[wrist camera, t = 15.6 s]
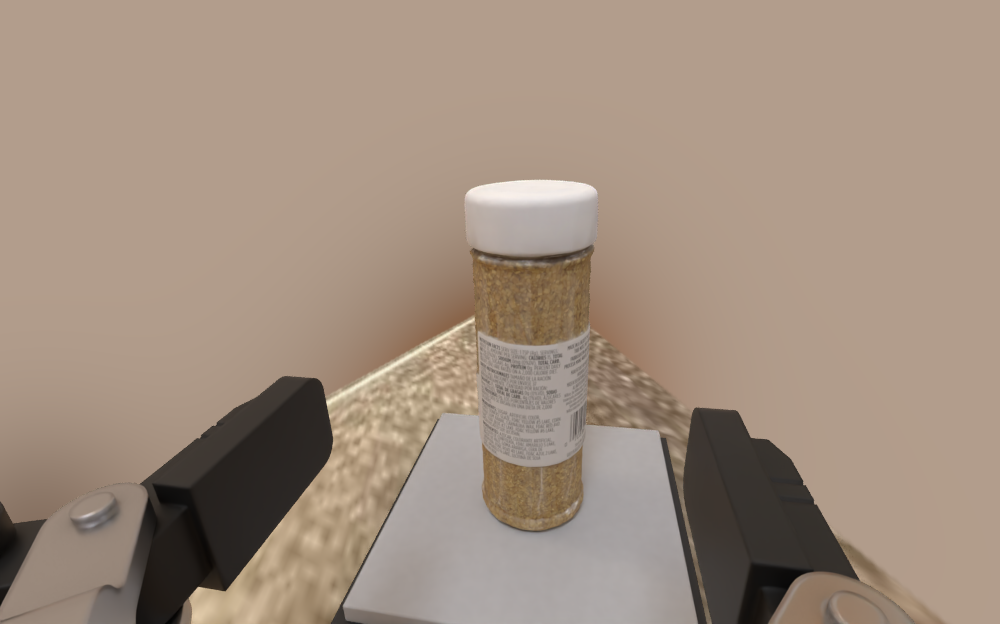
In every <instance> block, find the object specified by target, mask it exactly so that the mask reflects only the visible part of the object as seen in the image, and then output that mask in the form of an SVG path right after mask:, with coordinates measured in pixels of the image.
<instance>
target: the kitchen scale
mask: <svg viewBox="0 0 1000 624" xmlns="http://www.w3.org/2000/svg"><path fill="white" fill-rule="evenodd" d="M582 455H583V456H582V477H581V479H582V483H583V492H584V496H583V501H582V503H581V504H580V508H579V510H578V511H577V512H576V514H575V515H574V516H573V518H571V519H570V520H568V521H567V522H564V523H563V524H561V525H559V526H557V527H553V528H550V529H546V530H541V531H532V530H522V529H519V528H516V527H513V526H510V525H509V524H507V523H504V522H502V521H500V520H498V519H497V518H496V517H495V516H494V515H493V514H492V513H491V512H490V510H489V509H488V507H487V506H486V503H485V501H484V499H483V493H482V482H483V479H484V470H483V450H482V440H481V437H480V427H479V416H475V415H463V414H451V413H442V415H441V417H440V419H438V420H437V422H436V424H435V426H434V428H433V429H432V431H431V433H430V435H429V437H428V439H427V441H426V443H425V445H424V447H423V449H422V450H421V452H420V454H419V456H418V458H417V460H416V462H415V464H414V466H413V468H412V470H411V471H410V473H409V475H408V477H407V479H406V481H405V483H404V485H403V487H402V489H401V491H400V492H399V494H398V496H397V498H396V500H395V502H394V504H393V506H392V508H391V510H390V512H389V514H388V515H387V517H386V519H385V521H384V523H383V525H382V527H381V529H380V531H379V533H378V535H377V536H376V538H375V540H374V542H373V544H372V546H371V548H370V550H369V552H368V554H367V556H366V557H365V559H364V561H363V563H362V565H361V567H360V569H359V571H358V573H357V575H356V577H355V578H354V580H353V582H352V584H351V586H350V588H349V590H348V592H347V594H346V596H345V598H344V599H343V601H342V603H341V605H340V607H339V609H338V611H337V613H336V615H335V617H334V619H333V620H332V622H331V624H707V622H706V617H705V613H704V608H703V604H702V599H701V595H700V590H699V586H698V581H697V577H696V572H695V568H694V563H693V559H692V554H691V550H690V545H689V541H688V536H687V532H686V527H685V522H684V518H683V513H682V509H681V504H680V500H679V495H678V491H677V486H676V482H675V477H674V473H673V468H672V464H671V459H670V455H669V450H668V446H667V441H666V438H660V434H659V431H657V430H646V429H633V428H621V427H609V426H597V425H586V428H585V440H584V443H583V449H582Z"/></svg>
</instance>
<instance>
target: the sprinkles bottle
mask: <svg viewBox="0 0 1000 624" xmlns="http://www.w3.org/2000/svg"><path fill="white" fill-rule="evenodd" d="M465 222H466V240H467V243H468V244H469V245H470V246H471V247H473V249H472V250H471V251H470V254H471V255H472V257H473V276H474V278H473V280H474V285H475V287H474V294H475V322H476V325H475V329H476V340H477V342H476V347H477V373H476V374H477V391H478V409H479V427H480V437H481V440H482V450H483V470H484V479H483V482H482V493H483V499H484V501H485V503H486V506H487V507H488V509H489V510H490V512H491V513H492V514H493V515H494V516H495V517H496V518H497V519H498V520H500V521H502V522H504V523H507V524H509V525H510V526H513V527H516V528H519V529H522V530H532V531H541V530H546V529H550V528H553V527H557V526H559V525H561V524H563V523H564V522H567V521H568V520H570V519H571V518H573V516H574V515H575V514H576V512H577V511H578V510H579V508H580V504H581V503H582V501H583V496H584V492H583V483H582V479H581V477H582V456H583V455H582V449H583V443H584V440H585V428H586V409H587V386H588V361H589V336H590V322H589V303H590V294H589V284H590V273H591V267H590V266H591V265H590V258H591V256H592V254H593V252H594V245H593V243H594V242H595V241H596V239H597V227H598V194H597V191H596V190H595V188H593V187H592V186H590V185H588V184H584V183H578V182H571V181H557V180H522V181H508V182H501V183H492V184H487V185H482V186H478V187H475V188H472V189H471V190H469V191H468V192H467V194H466V196H465Z"/></svg>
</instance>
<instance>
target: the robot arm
mask: <svg viewBox="0 0 1000 624" xmlns="http://www.w3.org/2000/svg"><path fill="white" fill-rule="evenodd" d="M332 445H333V436H332V430H331V425H330V420H329V414H328V409H327V404H326V399H325V394H324V389H323V386H322V383H321V382H320V381H319V380H318V379H316V378H304V377H303V378H302V377H290V376H284V377H282V378H280V379H278V380H277V381H276V382H275V383H273V384H272V385H271V386H270V387H269V388H267V389H266V390H265V391H264V392H262V393H261V394H260V395H259V396H258V397H256V398H254V399H252V400H250V401H248V402H246V403H244V404H242V405H240V406H238V407H236V408H234V409H233V410H232V411H231V412H229V413H228V414H227V415H226V416H224V417H223V418H222V419H221V420H219V421H218V422H217V425H216V426H212V427H211V428H210V429H208V430H207V431H206V432H204V433H203V434H202V435H201V438H200V439H199V438H197V439H196V440H194V441H193V442H192V443H191V444H190V445H188V446H187V447H186V448H184V449H183V450H182V451H181V452H179V453H178V454H177V455H176V456H174V457H173V458H172V459H171V460H169V461H168V462H167V463H166V464H164V465H163V466H162V467H161V468H159V469H158V470H157V471H156V472H154V473H153V474H152V475H151V476H149V477H148V478H147V479H146V480H144V481H143V482H142V483H141V484H136V483H118V484H113V485H109V486H105V487H101V488H98V489H96V490H93V491H91V492H88V493H86V494H84V495H82V496H79V497H78V498H76V499H74V500H72V501H70V502H69V503H67V504H66V505H64V506H63V507H61V508H60V509H59V510H58V511H56V512H55V513H54V514H53V515H51V516H50V517H49V518H48V519H44V520H36V521H29V522H21V523H14V524H13V523H12V521H11V519H10V517H9V516H8V514H7V512H6V510H5V508H4V506H3V504H2V503H1V502H0V624H191V617H192V607H191V603H190V601H189V597H190V596H191V594H192V593H193V592H194V591H195V590H196V588H197V587H203V588H209V589H215V590H221V591H226V590H227V589H228V587H229V586H230V585H231V584H232V582H233V581H234V580H235V579H236V577H237V576H238V575H239V574H240V572H241V571H242V570H243V568H244V567H245V566H246V565H247V563H248V562H249V561H250V560H251V558H252V557H253V556H254V554H255V553H256V552H257V551H258V549H259V548H260V547H261V546H262V544H263V543H264V542H265V540H266V539H267V538H268V537H269V535H270V534H271V533H272V532H273V530H274V529H275V528H276V526H277V525H278V524H279V523H280V521H281V520H282V519H283V518H284V516H285V515H286V514H287V512H288V511H289V510H290V509H291V507H292V506H293V505H294V504H295V502H296V501H297V500H298V499H299V497H300V496H301V495H302V493H303V492H304V491H305V490H306V488H307V487H308V486H309V485H310V483H311V482H312V481H313V479H314V478H315V477H316V476H317V474H318V473H319V472H320V471H321V469H322V468H323V467H324V465H325V464H326V463H327V461H328V459H329V457H330V454H331V450H332ZM683 489H684V500H685V506H686V511H687V515H688V519H689V524H690V528H691V532H692V537H693V541H694V546H695V550H696V554H697V559H698V563H699V568H700V572H701V576H702V581H703V585H704V590H705V594H706V598H707V603H708V607H709V612H710V616H711V620H712V624H915V622H914V621H913V620H912V619H911V618H910V617H909V616H908V614H907V613H906V612H905V611H904V610H903V609H901V608H900V607H899V606H898V605H897V604H896V603H895V602H893V601H892V600H891V599H889V598H888V597H887V596H885V595H884V594H882V593H881V592H879V591H877V590H876V589H874V588H872V587H871V586H869V585H867V584H865V583H863V582H861V581H860V580H859V578H858V577H857V575H856V573H855V571H854V570H853V568H852V566H851V564H850V563H849V561H848V559H847V557H846V555H845V554H844V552H843V550H842V548H841V547H840V545H839V543H838V541H837V540H836V538H835V536H834V534H833V533H832V531H831V529H830V527H829V526H828V524H827V522H826V520H825V519H824V517H823V515H822V513H821V511H820V510H819V508H818V506H817V505H814V499H813V497H812V496H811V494H810V492H809V490H808V489H807V487H806V485H803V480H802V478H801V477H800V475H799V473H798V471H797V469H796V468H795V466H794V464H793V462H792V460H791V459H790V458H789V457H788V456H787V455H785V454H784V453H783V452H782V451H781V450H780V449H778V448H777V447H776V446H775V445H774V444H773V443H771V442H770V441H769V440H767V439H755V438H751V437H750V435H749V433H748V431H747V429H746V427H745V425H744V423H743V421H742V419H741V417H740V415H739V413H738V412H737V411H736V410H723V409H709V408H695V409H694V410H693V413H692V418H691V424H690V432H689V439H688V446H687V453H686V460H685V467H684V477H683Z"/></svg>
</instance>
